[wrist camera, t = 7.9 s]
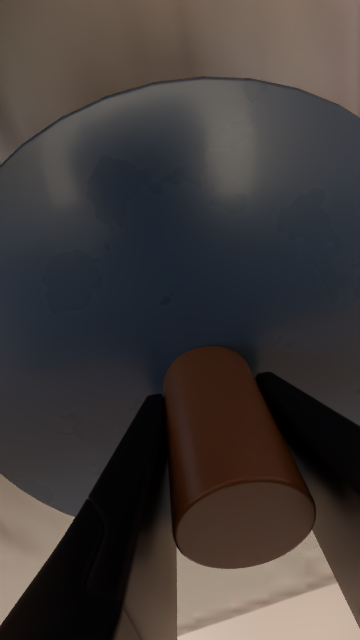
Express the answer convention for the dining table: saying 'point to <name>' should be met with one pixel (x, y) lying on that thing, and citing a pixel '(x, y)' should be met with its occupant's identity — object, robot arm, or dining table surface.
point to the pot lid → (181, 298)
